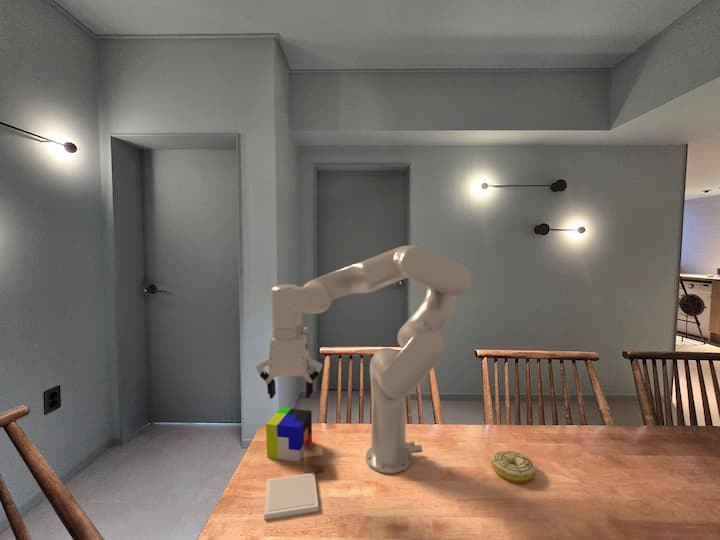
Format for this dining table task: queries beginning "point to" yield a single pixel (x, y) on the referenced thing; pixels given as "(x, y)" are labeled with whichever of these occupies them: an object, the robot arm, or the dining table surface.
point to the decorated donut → (513, 466)
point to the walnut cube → (313, 459)
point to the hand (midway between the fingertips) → (290, 396)
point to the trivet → (290, 496)
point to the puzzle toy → (289, 434)
